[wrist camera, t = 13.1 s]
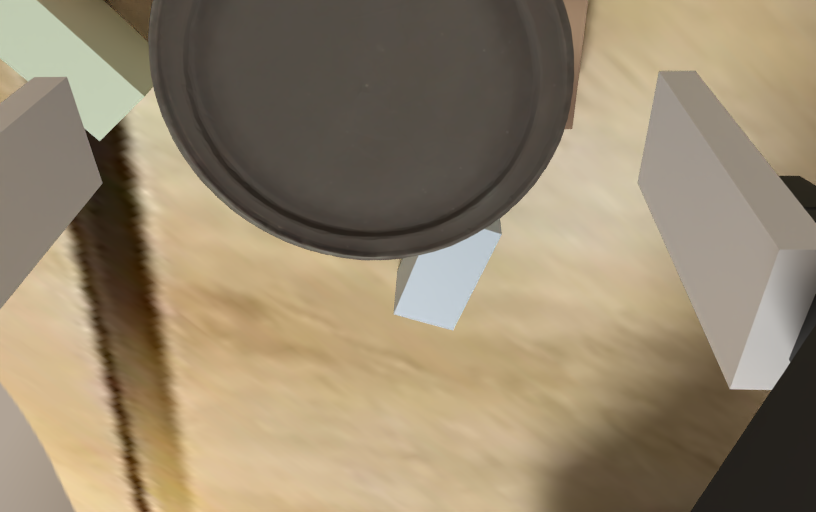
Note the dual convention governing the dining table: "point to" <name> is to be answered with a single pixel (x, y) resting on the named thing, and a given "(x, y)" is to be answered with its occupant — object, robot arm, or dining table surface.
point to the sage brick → (79, 54)
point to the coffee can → (365, 113)
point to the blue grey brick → (443, 279)
